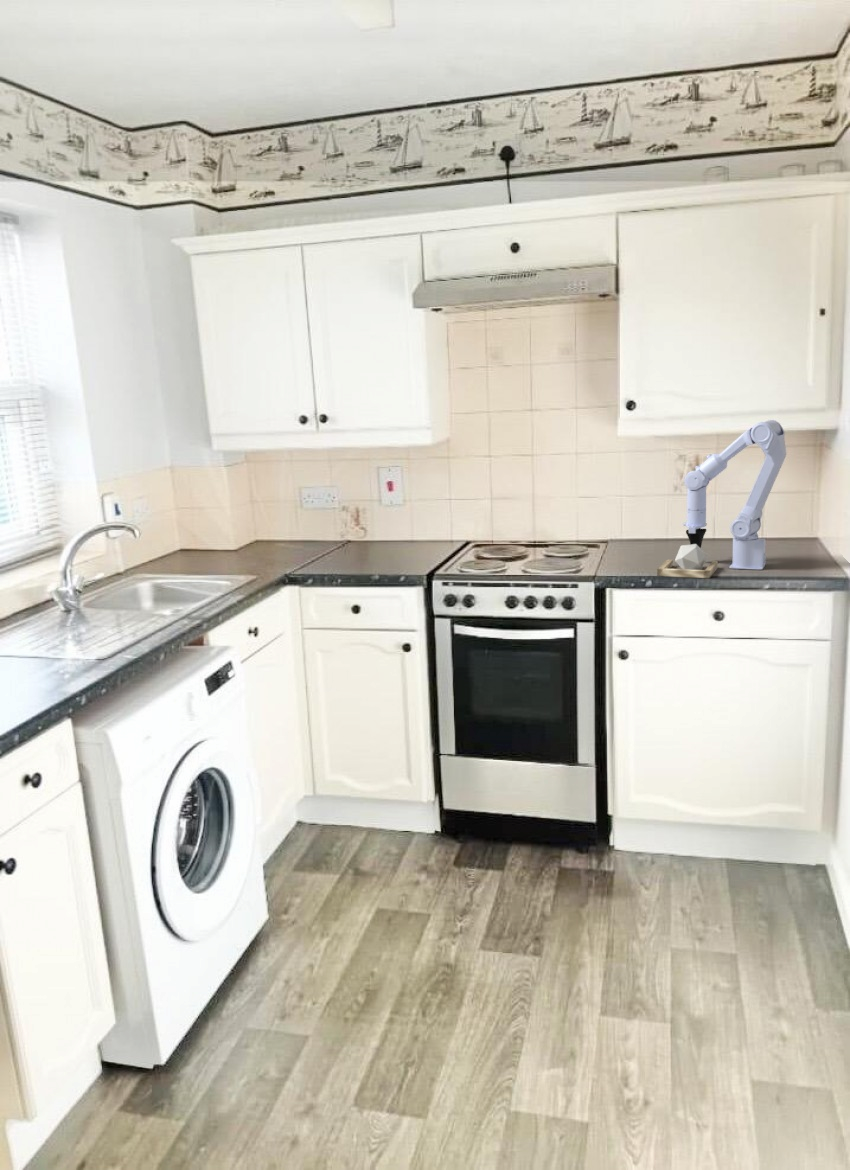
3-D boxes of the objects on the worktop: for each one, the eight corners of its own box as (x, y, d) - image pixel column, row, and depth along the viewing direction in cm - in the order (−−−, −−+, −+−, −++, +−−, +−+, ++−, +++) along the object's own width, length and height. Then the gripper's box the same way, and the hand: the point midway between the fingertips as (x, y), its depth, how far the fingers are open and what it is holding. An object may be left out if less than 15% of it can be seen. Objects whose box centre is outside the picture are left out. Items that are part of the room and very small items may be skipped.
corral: (717, 567, 275) (717, 561, 275) (709, 578, 263) (709, 571, 262) (667, 565, 282) (667, 559, 281) (657, 575, 269) (657, 569, 269)
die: (704, 575, 269) (715, 547, 271) (679, 563, 268) (690, 535, 270) (691, 580, 276) (702, 552, 279) (667, 568, 276) (677, 540, 278)
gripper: (687, 505, 288) (687, 547, 291) (678, 512, 275) (678, 556, 278) (710, 505, 285) (710, 548, 288) (702, 513, 272) (701, 557, 275)
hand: (696, 552), depth 283 cm, fingers closed
